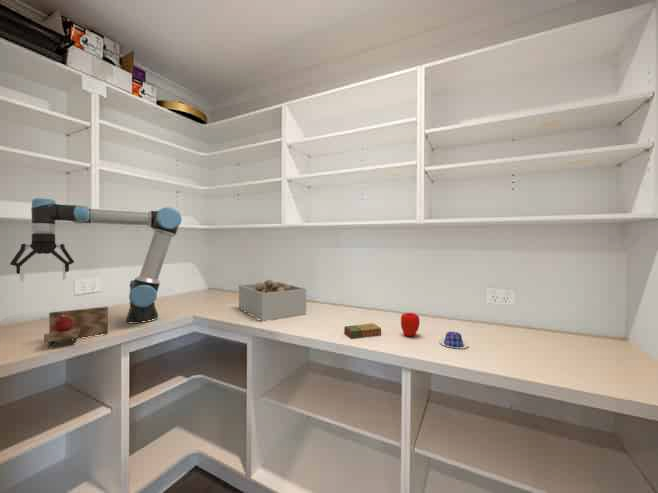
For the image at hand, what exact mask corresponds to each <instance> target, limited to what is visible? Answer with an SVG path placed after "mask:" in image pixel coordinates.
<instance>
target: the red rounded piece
mask: <svg viewBox="0 0 658 493" xmlns="http://www.w3.org/2000/svg"><path fill="white" fill-rule="evenodd" d="M400 325H401V330H402V332H403V334H404V336H406V337H413V336H415V335H416V334H417V332H418V331H419V328H420V316H419V315H418V314H417V313H412V312H406V313H402V314H401V316H400Z"/></svg>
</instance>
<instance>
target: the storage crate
mask: <svg viewBox="0 0 658 493" xmlns="http://www.w3.org/2000/svg"><path fill="white" fill-rule="evenodd" d="M275 282H276V283H277V284H278V286H279V287H282V288H283V287H284V285H286V284H287V285H290V287H291V290H288V291H278V292H277V289H276V292H269V293H265V290H266V289H265V288H266V286H265V284H264V286H265V288H264V290H262V292H263V293H262V292H259V291H257V290H256V289H255V285H256V284H257V283H250V284H249V283H247V284H239V285H238V309H239V308H240V309H242V310H243V311H245V312H247V313H249V314H251V315H253V316H254V317H256V318H258V319H260V320H261V321H265V322H268V321H267V320H271V321H275V320H274V319H277V320H282V319H281V318H283V319H288V318H287V317H289V318H293V317H294V316H295V317H299V316H300V315H301V316H305V315H307V288H305V287H300V286H296V285H292V284H288V283H285V282H280V281H275ZM271 290H272V288H271ZM240 309H239V310H240ZM243 311H242V312H243ZM245 312H244V313H245ZM247 313H246V314H247ZM249 314H248V315H249ZM254 317H253V318H254ZM256 318H255V319H256ZM258 319H257V320H258ZM261 321H260V322H261Z"/></svg>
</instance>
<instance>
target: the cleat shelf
mask: <svg viewBox="0 0 658 493" xmlns="http://www.w3.org/2000/svg"><path fill="white" fill-rule="evenodd" d="M79 332H80V329H74V330H69V331H64V332H51V333H49V332H48V333H44V334H43V343H47V349H51V348H50V347H53V346H54V345H53V344H55V343H56V342H55V341H58V340H65V339H72V338H73V340H72V345H73V344H74V343H76V341H77V342H78V340H79V339H78V335H79ZM77 339H78V340H77ZM76 344H77V343H76ZM74 345H75V344H74Z"/></svg>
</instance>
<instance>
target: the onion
mask: <svg viewBox="0 0 658 493" xmlns="http://www.w3.org/2000/svg"><path fill="white" fill-rule="evenodd" d="M72 326H73V322H72V320H71V319H70V318H68V317H66V316H64V315H62V317H61V318H60V319H58V320H57V321H56V323H55V326H54V328H55V330H57V331H58V332H64V331H69V330H70V329H71V328H72Z"/></svg>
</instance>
